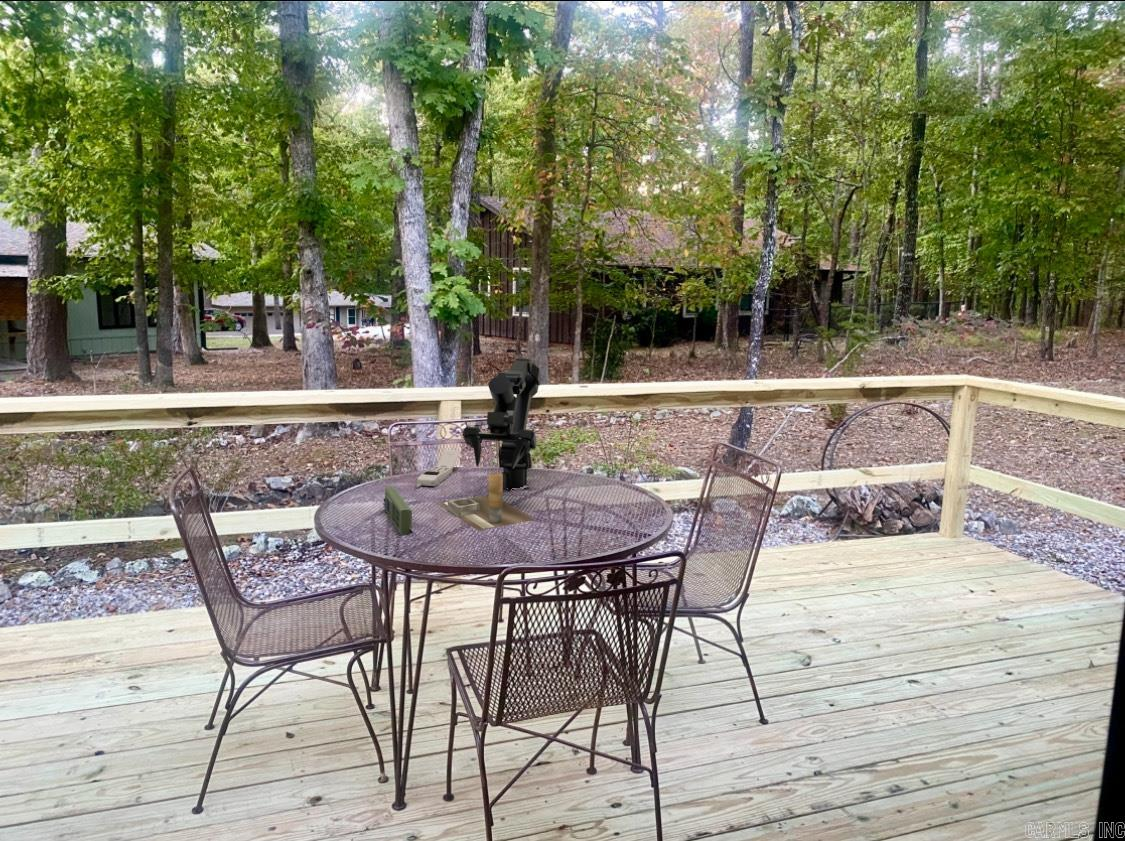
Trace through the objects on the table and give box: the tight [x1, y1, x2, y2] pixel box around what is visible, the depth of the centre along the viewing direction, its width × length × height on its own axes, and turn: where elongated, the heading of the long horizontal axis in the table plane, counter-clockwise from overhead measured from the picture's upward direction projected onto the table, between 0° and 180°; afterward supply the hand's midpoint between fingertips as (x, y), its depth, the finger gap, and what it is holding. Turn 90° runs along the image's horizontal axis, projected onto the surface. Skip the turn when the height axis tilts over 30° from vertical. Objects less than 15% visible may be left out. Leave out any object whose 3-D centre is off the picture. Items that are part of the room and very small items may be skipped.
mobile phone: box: [415, 449, 461, 489], centre depth 222 cm, size 6×6×25 cm
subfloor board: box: [438, 494, 536, 532], centre depth 188 cm, size 16×23×4 cm
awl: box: [488, 472, 504, 524], centre depth 180 cm, size 3×3×12 cm
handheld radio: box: [383, 485, 413, 536], centre depth 185 cm, size 7×3×25 cm
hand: (494, 466), depth 186 cm, fingers open, 9 cm apart
